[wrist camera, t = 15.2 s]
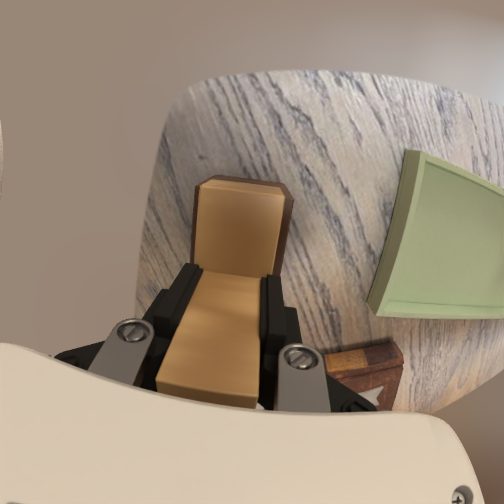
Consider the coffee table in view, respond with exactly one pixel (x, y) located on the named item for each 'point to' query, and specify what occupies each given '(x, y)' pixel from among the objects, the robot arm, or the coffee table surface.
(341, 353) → the book
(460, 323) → the coffee table surface
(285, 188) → the stand
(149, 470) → the robot arm
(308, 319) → the coffee table surface
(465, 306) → the tray
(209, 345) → the wooden block
